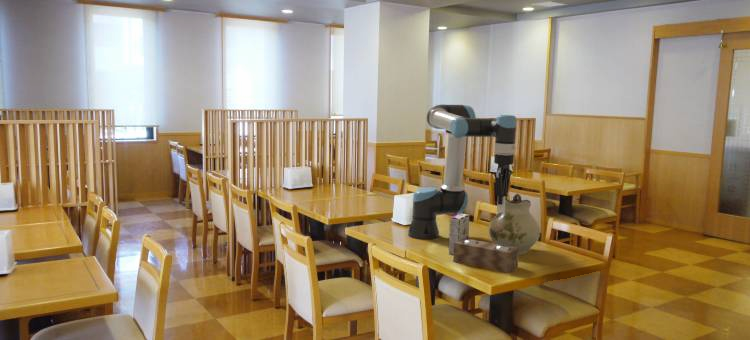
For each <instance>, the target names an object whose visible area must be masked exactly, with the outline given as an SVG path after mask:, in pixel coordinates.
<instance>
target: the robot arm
mask: <svg viewBox="0 0 750 340" xmlns="http://www.w3.org/2000/svg"><path fill="white" fill-rule="evenodd" d="M426 122H427V124H428V125H429V126H430V127H431V128H433V129H436V130H437V129H438V130H445V133H446V134H447V136H448V137H447V146H446V147H447V148H446V158H445V171H444V181H443V183H442V185H441V186H440V190H438V189H437V187H421V188H417V189H416V190H415V191H413V194H412V195H413V196H412V215H411V216H412V220H411V222H410V225H409V227H408V232H407V234H408V236H409V237H411V238H413V239H414V238H415V239H421V240H433V239H437V238H439V237H440V231H439V230H440V229H439V227H438V223H437V215H458V214H464V212H465V211H466V209H467V206H468V202H469V198H468V197H469V195H468V193H467V191H466V190H465V187H464V186H463V176H464V175H463V174H464V165H465V155H466V154H465V153H466V144H467V138H469V137H470V138H471V137H474V138H475V137H477V138H495V141H494V142H495V145H494V161H493V162H494V163H493V164H495V165H497V168H496V172H494V183H495V185H494V186H495V188H494V190H495V197H497V203H496V205H497V206H496V212H497V213H499V212H500V213H504V212H505V199H507V198H506V197H509V188H510V182H511V177H512V176H511V175H512V172H513V171H512V169H510V165H511V166H512V165H514V161H515V156H514V155H513V154H515V149H516V145H515V143H516V131H517V117H516V116H515V115H511V114H498V115H497V117H496V118H494V117H492V118H491V117H490V118H478V117H476V112H475V111H474V108H473V107H472V106H471V105H466V104H436V105H435V106H433V107H431V108H429V110H428V112H427V114H426Z"/></svg>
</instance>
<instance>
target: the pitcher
mask: <svg viewBox="0 0 750 340" xmlns="http://www.w3.org/2000/svg"><path fill="white" fill-rule="evenodd" d="M531 205H532V202H531V201H530V200H529V199H523V200H522V196H521V195H520V194H518V193H516V194H515V195H513V197H511V200H509V199H507V198H505V212H504V213H500V212H497V214H496V215H495V216H494V217H493V218H492V219H491V220H490V223H489V225H488V234H489V237H490V239H491V240H492V243H494V244H500V245H506V246H511V247H517V248H519V253H518V256H520V255H521V256H522V255H526V254H527V253H528V251H529V250H530V249H531V248H532V247H533V246H534V245H535V244H536V243H537V242H538V240H539V238H540V235H541V227H540V225H539V222H538V221H537V220H536V218H535V217H534V216H533V215H532V213H531V211H530V208H531Z"/></svg>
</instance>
